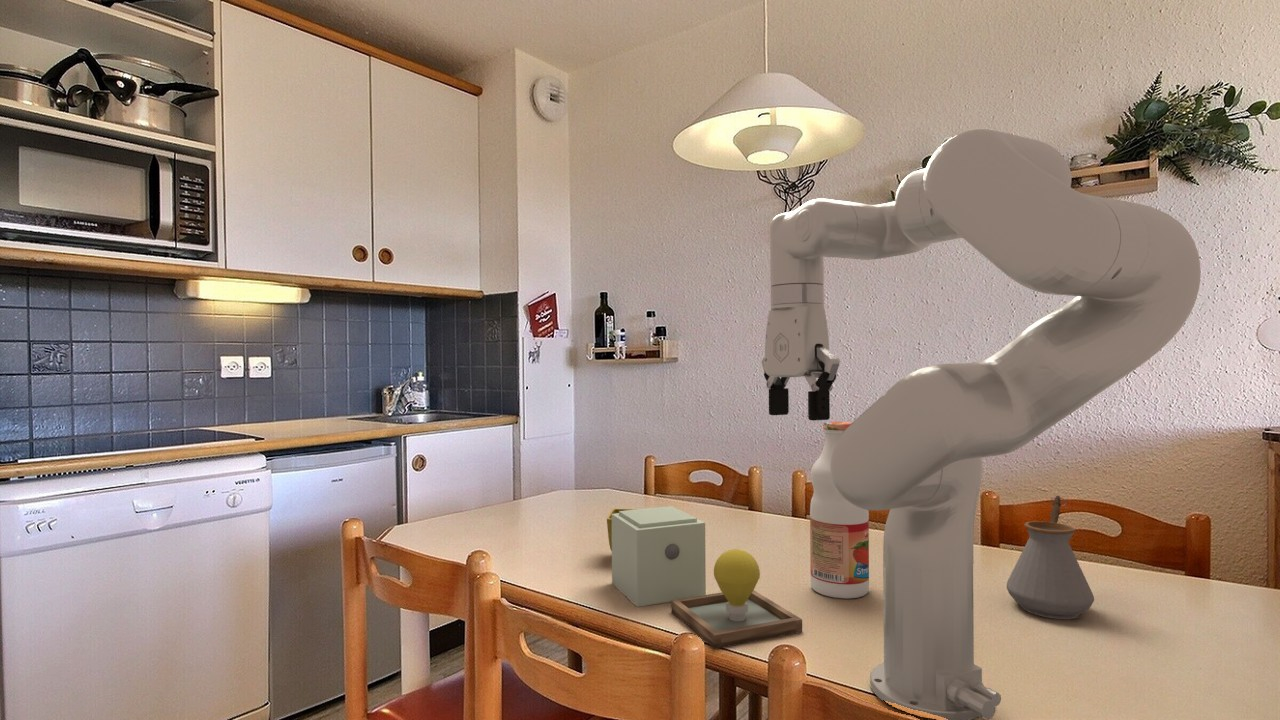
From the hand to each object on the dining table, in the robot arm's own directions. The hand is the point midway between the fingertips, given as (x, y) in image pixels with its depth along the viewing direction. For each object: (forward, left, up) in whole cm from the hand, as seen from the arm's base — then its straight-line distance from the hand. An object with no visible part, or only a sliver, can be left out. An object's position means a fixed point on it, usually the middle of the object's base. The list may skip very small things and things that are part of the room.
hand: (798, 417), depth 96 cm
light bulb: (+4, +8, -30) cm, 31 cm away
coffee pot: (-7, -43, -31) cm, 53 cm away
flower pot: (+39, +11, -31) cm, 51 cm away
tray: (+5, +8, -30) cm, 32 cm away
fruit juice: (+10, -15, -31) cm, 35 cm away
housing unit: (+22, +13, -30) cm, 40 cm away
